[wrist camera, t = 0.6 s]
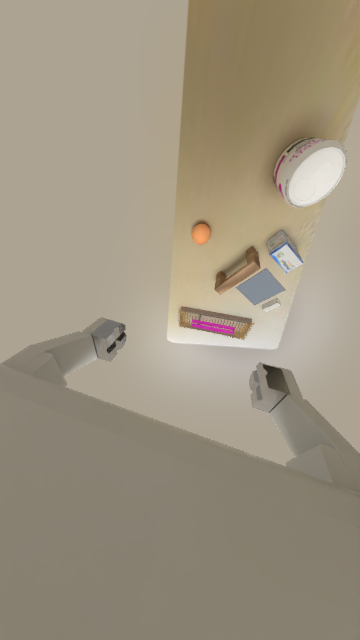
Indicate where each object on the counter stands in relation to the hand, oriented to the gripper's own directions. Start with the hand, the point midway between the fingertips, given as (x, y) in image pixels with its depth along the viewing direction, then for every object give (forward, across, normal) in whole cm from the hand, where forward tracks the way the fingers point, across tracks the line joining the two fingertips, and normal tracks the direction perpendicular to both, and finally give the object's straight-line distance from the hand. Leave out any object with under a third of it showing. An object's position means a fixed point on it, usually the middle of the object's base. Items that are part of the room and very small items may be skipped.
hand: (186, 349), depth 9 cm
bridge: (+52, -7, +6) cm, 53 cm away
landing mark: (+54, -19, +13) cm, 59 cm away
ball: (+46, +6, -2) cm, 47 cm away
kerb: (+56, -26, +19) cm, 65 cm away
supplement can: (+45, -12, -18) cm, 50 cm away
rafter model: (+62, -6, +36) cm, 72 cm away
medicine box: (+50, -18, -2) cm, 53 cm away
